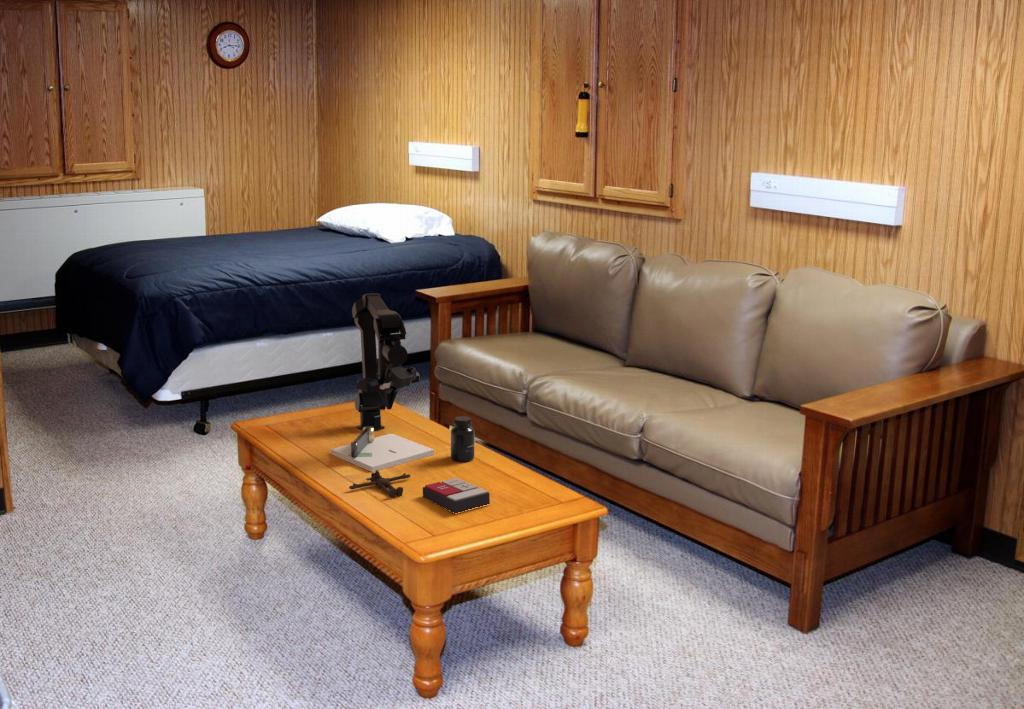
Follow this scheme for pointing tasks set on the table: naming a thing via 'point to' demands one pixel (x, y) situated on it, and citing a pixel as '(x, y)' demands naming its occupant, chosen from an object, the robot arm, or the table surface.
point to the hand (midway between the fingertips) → (389, 409)
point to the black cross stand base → (383, 484)
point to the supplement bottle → (462, 440)
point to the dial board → (384, 452)
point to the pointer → (362, 440)
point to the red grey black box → (456, 495)
